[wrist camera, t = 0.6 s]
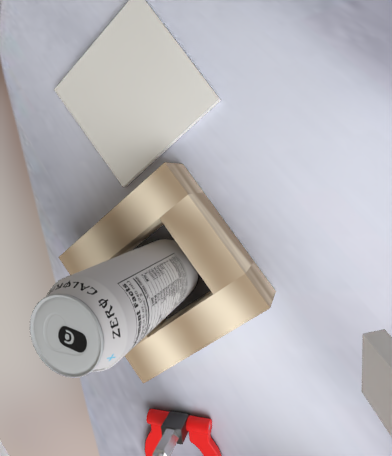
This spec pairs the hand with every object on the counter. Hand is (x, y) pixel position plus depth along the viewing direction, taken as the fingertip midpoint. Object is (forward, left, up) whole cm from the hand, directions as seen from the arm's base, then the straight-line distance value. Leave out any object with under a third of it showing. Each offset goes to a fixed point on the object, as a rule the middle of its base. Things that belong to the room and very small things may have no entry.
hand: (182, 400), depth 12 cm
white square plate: (0, -19, -19) cm, 27 cm away
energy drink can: (+7, -4, -19) cm, 21 cm away
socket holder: (+7, -4, -19) cm, 21 cm away
